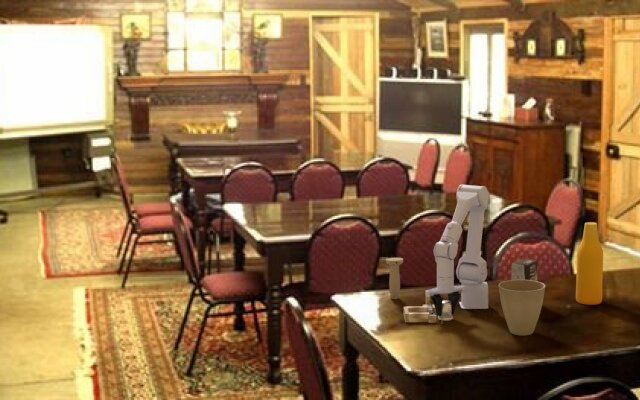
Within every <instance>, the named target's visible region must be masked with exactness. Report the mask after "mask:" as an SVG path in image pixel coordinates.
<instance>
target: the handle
mask: <svg viewBox="0 0 640 400" xmlns="http://www.w3.org/2000/svg"><path fill="white" fill-rule="evenodd" d="M385 263H386V264H387V265H389V282H388V283H389V284H388V287H389V297H390V299H392V300H398V299H400V293H401V292H400V291H401V290H400V289H401V279H400V265H402V264H403V263H404V258H402V257H388V258H385Z"/></svg>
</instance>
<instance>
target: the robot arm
mask: <svg viewBox="0 0 640 400" xmlns="http://www.w3.org/2000/svg"><path fill="white" fill-rule="evenodd" d="M489 197H490V192H489V190H488V188H487V186H485V185H481V186H480V185H470V184H463V183H462V184H461V183H460V185H459V186H458V187H457V189H456V201H457V203H456V207H455V210H454V213H453V216H452V220H451V221H450V222H447V224H446V226H445V229H444V231H443V233H442V235H441V237H440V240H439V241H437V242H436V243H435V244H434V246H433V247H434V248H433V256H434V258H435V259H434V260H435V263H436V287H434V288H430V289H426V290H424V292H425V297H426V296H427V297H430V300H431V301H432V303H433V304H434V306H435V309H436V314H435V315H436V316H437V317H438V316H441V314H442V301H443V300H444V298H443V297H441V296H442V295H447V297H448V299H447V300H448V301H451V302H452V315H454V314H455V311H456V306H457V304H458V303H459V306H460V308H461V310H472V309H473V310H477V309H478V310H479V309H480V310H482V309H483V310H486V309H489V285H488V284H489V283H488V282H487V281H485V280H487V276H488V269H487V266H488V265H487V261H486V260H485V259H484V258H483V257H482V256H481V249H482V239H483V237H482V236H483V229H484V228H483V227H484V220H485V219H484V218H485V211H486V210H487V209H488V205H489ZM468 213H469V217H468V226H467V227H468V230H467V236H466V246H465V254H464V255H463V256H461V257H460V258H459V259H458V264H457V267H456V272H455V271H454V270H455V268H454V267H455V266H454V265H455V264H454V263H455V258H456V257H457V255H458V248H459V244H458V242H459V241H460V238H461V235H462V233H463V227H462V225H463V222H464V221H465V219H466V217H467V215H468ZM454 273H455V274H456V278H457V279H458V280H459V283H461V285H454V284H455V281H454V280H455V277H454V275H455V274H454ZM459 300H461V301H459Z"/></svg>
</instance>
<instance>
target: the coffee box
mask: <svg viewBox="0 0 640 400" xmlns="http://www.w3.org/2000/svg"><path fill="white" fill-rule="evenodd" d="M510 273H511V278H510V280H532V281H538V260H537V259H536V260H535V259H531V258H530V259H529V258H527V259H526V258H521V259H518V260H515V261H513V262H511V272H510Z"/></svg>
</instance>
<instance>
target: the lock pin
mask: <svg viewBox="0 0 640 400" xmlns="http://www.w3.org/2000/svg"><path fill="white" fill-rule="evenodd" d="M425 304H426V306H427V313H429V315H433V314H432V303H431V297H427V296H425Z"/></svg>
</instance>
